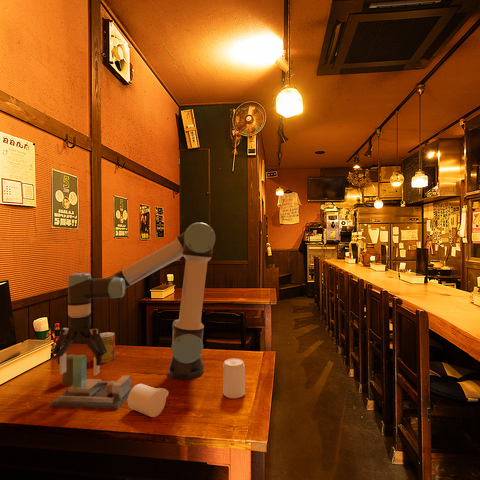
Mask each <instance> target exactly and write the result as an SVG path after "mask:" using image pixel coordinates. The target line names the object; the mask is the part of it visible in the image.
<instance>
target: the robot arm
mask: <svg viewBox="0 0 480 480" xmlns="http://www.w3.org/2000/svg"><path fill="white" fill-rule="evenodd" d="M215 243H216V233H215V230H214V229H213V228H212V227H211V226H210V225H209V224H207V223H206V222H205V223H204V222H199V221H197V222H193V223H192V224H190V225H189V226H187V228H186V229H185V231H184V232H183V233H181V234H180V235H178V236H175V240H174V241H172V242H170V243H168V244H166V245H165V246H162V247H161V248H159V249H157V250H155V251H154V252H152V253H150V254H148V255H146V256H145V257H143V258H141V259H140V260H137V261H136V262H133V263H132V264H130V265H128V266H126V267H124V268H123V269H121V270H119V271H118V272H115V273H113V274H111V275H110V276H108V277H104V278H100V277H99V278H93V277H92V274H91V273H88V272H79V273H78V272H77V273H71V274H70V275H69V276H68V283H67V304H68V305H67V315H68V318H67V327H63V328H61V329H59V330H60V331H59V336H58V339H57V340H56V343H55V345H54V347H53V349H52V355H56V356H57V364H58V365H59V375H63V373H65V372H66V356H67V353H66V352H67V350H68V349H69V347H70V346H71V345H72V343H73V342H83V343H85V344H86V345H87V347H88V348H89V349H90V351H91V352H92V353H93V355H94V356H93V376H97V375H98V374H100V373H101V371H100V369H101V367H100V365H102V364H103V363H102V355H104V354H105V353H107V350H106V348H105V345H104V343H103V341H102V339H101V336H100V334H99V333H100V328H99V327H96V328H91V325H92V315H91V313H92V309H91V308H92V300H93V299H117V298H118V299H119V298H123V297H124V296H125V293H126V289H127V288H129V287H130V286H132V285H134V284H135V283H137V282H139V281H141V280H143V279H144V278H146V277H148V276H151V274H153V273H156V272H157V271H159V270H161V269H163V268H165V267H166V266H168V265H170V264H171V263H173V262H175V261H177V260H179V259H181V258H182V257H183V258H184V259H185V264H184V265H185V266H184V271H183V272H184V273H183V283H182V289H181V297H180V306H179V315H178V316H179V318H177V319H175V320H173V322H172V325H171V329H172V340H171V341H172V342H171V348H170V349H171V354H172V357H171V360H170V363H169V367H168V376H169V377H171V378H172V379H177V380H189V379H191V380H192V379H195V378H199V377H200V376H202V375H203V374H204V372H205V367H204V362H203V360H202V353H203V350H204V343H203V337H204V328H205V325H204V324H203V323H202V314H203V312H202V311H203V306H204V305H203V304H204V295H205V286H206V276H207V270H208V262H209V261H211V259H212V258H213V249H214V246H215ZM67 335H69V337H68V338H67ZM66 338H67V339H66ZM65 341H66V342H65Z"/></svg>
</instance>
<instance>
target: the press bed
mask: <svg viewBox="0 0 480 480" xmlns="http://www.w3.org/2000/svg"><path fill="white" fill-rule="evenodd" d="M131 378H132V376H131V375H122V376H121V377H119V379H118V380H116V381H115V383H114V384H113V385H112V394H107V393H106V391H105V387H106V385H107V384H108V383H109V382H111V381H112V380H111V381H109V380H108V381H107V380H102V388H100V389H99V390H98V391H97V392H96V393H95V394H93V395H92V396H91V397H86V396H68V389H67V390H66V391H64V392H63V393H62V394H60V395H58V397H56V398H55V399H54V400H52V401H51V407H64V408H65V407H67V408H88V409H91V408H92V409H110V410H111V409H114V410H115V409H116V410H117V409H119V408H120V407H121V406H122V405H123V404H124V402H126V401H127V400H128V395H129V393H130V391H131V390H132V388H133V387H134V386H136V385H135V384H133V385H131V384H132V380H131Z"/></svg>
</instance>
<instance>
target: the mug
mask: <svg viewBox="0 0 480 480" xmlns="http://www.w3.org/2000/svg"><path fill="white" fill-rule="evenodd" d="M169 393H170V392H169V390H167V388H163V387H158V388H155V387H152V386H149V385H146V384H144V383H138V384H136V385H135V386H134V387H133V388H132V390H131V391H130V393H129V395H128V398H127V406H128V407H129V409H131V410H134V411H136V412H139V413H141V414H144V415H146V416H148V417H150V418H155V417H158V416H159V415H160V414H161V413H162V412H163V410H164V408H165V405H166V401H167V398H168V396H169Z"/></svg>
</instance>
